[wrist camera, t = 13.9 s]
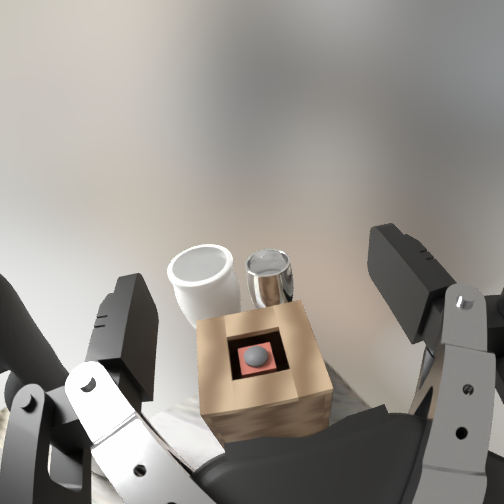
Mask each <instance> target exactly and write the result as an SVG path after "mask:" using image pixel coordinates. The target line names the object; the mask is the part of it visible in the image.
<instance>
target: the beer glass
mask: <svg viewBox="0 0 504 504" xmlns="http://www.w3.org/2000/svg"><path fill="white" fill-rule="evenodd" d="M245 267H246V278H247V285H248V290H249V294H250V297H251V300H252V302H253V304H254V307H255V309H260V308H265V307H270V306H274V305H279V304H284V303H288V302H292V298H293V289H294V287H293V274H292V269H291V264H290V258H289V256H288V254H286V253H285V252H283V251H281V250H278V249H263V250H259V251H257V252H254V253H253V254H251V255H250V256H249V257H248V258H247V260H246V262H245Z"/></svg>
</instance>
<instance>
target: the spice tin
mask: <svg viewBox="0 0 504 504" xmlns="http://www.w3.org/2000/svg"><path fill="white" fill-rule="evenodd" d="M238 354H239V360H240V366H241V372H242V377H243V379H244V378H250V377H255V376H260V375H265V374H270V373H274V372H277V369H276V365H275V361H274V357H273V353H272V349H271V345H270V342H268V343H263V344H258V345H254V346H249V347H244V348H239V349H238Z"/></svg>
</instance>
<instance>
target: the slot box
mask: <svg viewBox="0 0 504 504" xmlns="http://www.w3.org/2000/svg"><path fill="white" fill-rule="evenodd" d="M196 326H197V357H198V381H199V400H200V415H201V417H202V418H203V420H204V421H205V423H206V424H207V426H208V427H209V428H210V430H211V431H212V433H213V434H214V436H215V437H216V439H217V440H218V441H219V443H220V444H221V446H222V447H223V448H224V450H225V447H224V443H229V442H236V441H242V440H248V439H254V438H260V437H309V436H312V435H315V434H316V433H318V432H320V431H322V430H324V429H326V428H328V422H329V416H330V409H331V402H332V395H333V386H332V383H331V380H330V378H329V375H328V372H327V369H326V366H325V364H324V361H323V358H322V355H321V353H320V350H319V347H318V345H317V342H316V339H315V336H314V334H313V331H312V328H311V326H310V323H309V320H308V318H307V315H306V312H305V310H304V307H303V305H302V302H301V300H297V301H293V302H288V303H284V304H279V305H274V306H270V307H265V308H260V309H255V310H250V311H246V312H240V313H235V314H230V315H225V316H219V317H214V318H209V319H203V320H197V321H196ZM268 342H270V345H271V349H272V353H273V357H274V361H275V365H276V369H277V372H274V373H270V374H265V375H260V376H255V377H250V378H244V379H243V377H242V372H241V366H240V360H239V354H238V349H239V348H244V347H249V346H254V345H258V344H263V343H268Z"/></svg>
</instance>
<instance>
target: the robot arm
mask: <svg viewBox="0 0 504 504" xmlns="http://www.w3.org/2000/svg"><path fill="white" fill-rule="evenodd" d="M367 264H368V271H369V275H370V277H371V279H372V281H373V282H374V284H375V285H376V287H377V288H378V290H379V292H380V293H381V295H382V296H383V298H384V299H385V301H386V302H387V304H388V306H389V307H390V309H391V310H392V312H393V314H394V315H395V317H396V319H397V320H398V322H399V324H400V325H401V327H402V329H403V330H404V332H405V334H406V335H407V337H408V339H409V340H410V342H411V344H415V343H418V342H421V341H424V342H425V344H426V348H425V350H424V354H423V360H422V365H421V370H420V375H419V379H418V384H417V388H416V392H415V396H414V399H413V402H412V404H411V407H410V409H409V412H408V414H406V413H388V411H387V409H386V407H385V405H384V404H383V405H381V406H378V407H375V408H372V409H369V410H366V411H363V412H360V413H357V414H353V415H350V416H347V417H346V418H344V419H342V420H340V421H339V422H337V423H335V424H333V425H331V426H330V427H328V428H326V429H324V430H322V431H320V432H318V433H316V434H315V435H312V436H309V437H260V438H254V439H248V440H242V441H236V442H229V443H224V447H225V453H223V454H220V455H218V456H216V457H214V458H212V459H211V460H209V461H207V462H206V463H204V464H203V465H202V466H201V467H199V468H198V469H197V470H196V471H194V470H193V469H192V468H191V467H190V466H189V465H188V464H187V463H186V462H185V461H184V460H183V459H182V458H181V457H180V456H179V455H178V454H177V453H176V452H175V451H174V450H173V449H172V447H171V446H170V445H169V444H168V443H167V442H166V441H165V440H164V438H163V437H162V436H161V435H160V434H159V433H158V431H157V430H156V429H155V428H154V427H153V426H152V424H151V423H150V422H149V421H148V419H147V418H146V417H145V416H144V415H143V413H142V412H141V405H142V402H148V401H153V392H154V374H155V359H156V346H157V335H158V323H159V320H158V312H157V308H156V305H155V303H154V301H153V299H152V297H151V294H150V292H149V290H148V288H147V285H146V283H145V281H144V279H143V277H142V275H141V274H140V273H136V274H131V275H127V276H122V277H119V278H118V280H117V283H116V287H115V290H114V293H110V294H108V295H107V296H106V298H105V299H104V300H103V302H102V303H101V305H100V307H99V311H98V314H97V319H96V321H95V325H94V329H93V332H92V335H91V339H90V343H89V347H88V351H87V355H86V359H85V363H84V364H81V365H79V366H78V367H76V368H75V369H74V370H73V371H72V372H71V374H69V373H68V371H67V370H66V369H65V368H64V367H63V365H62V364H61V362H60V360H59V359H58V357H57V355H56V354H55V352H54V351H53V349H52V347H51V346H50V344H49V343H48V342H47V340H46V339H45V337H44V336H43V334H42V333H41V331H40V330H39V329H38V327H37V326H36V324H35V323H34V321H33V319H32V318H31V316H30V314H29V313H28V311H27V309H26V308H25V306H24V304H23V302H22V301H21V299H20V298H19V296H18V294H17V293H16V291H15V290H14V289H13V287H12V285H11V284H10V283H9V282H8V281H7V280H6V279H5V278H4V277H3V276H2V275H1V274H0V374H1V373H3V372H5V371H8V370H10V371H11V373H10V374H9V377H8V379H7V382H6V385H5V392H4V394H5V402H6V405H7V408H8V410H9V411H10V416H9V421H8V426H7V431H6V436H5V442H4V448H3V455H2V462H1V469H0V504H92V503H91V471H93V472H94V473H96V474H98V475H100V476H102V477H105V478H108V479H109V481H110V482H111V484H112V485H113V487H114V488H115V489H116V491H117V492H118V494H119V495H120V496H121V498H122V499H123V501H124V502H125V503H126V504H504V457H501V456H499V455H497V454H495V453H493V452H491V451H489V450H488V447H489V440H490V433H491V426H492V417H493V407H494V393H495V388H496V390H497V392H498V394H499V396H500V398H501V400H502V402H503V404H504V288H503V291H502V293H501V295H489V296H483V294H482V293H481V292H480V291H479V290H478V289H477V288H475V287H473V286H471V285H469V284H465V283H456V282H455V280H454V279H453V278H452V277H451V276H450V275H449V274H448V273H447V271H446V270H445V269H444V268H443V267H442V266H441V264H440V263H439V262H438V261H437V260H436V259H434V258H433V256H432V255H431V254H430V252H427V249H426V248H425V247H424V246H423V245H422V244H421V243H420V242H419V241H418V240H416V239H414V238H413V237H411V236H409V235H407V234H405V235H403V234H402V232H401V231H400V230H399V229H398V228H397V227H396V226H395V225H394V224H392V223H389V224H384V225H379V226H374V227H372V228H371V230H370V239H369V251H368V262H367ZM49 445H52V453H51V464H50V476H49V473H48V455H49Z"/></svg>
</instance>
